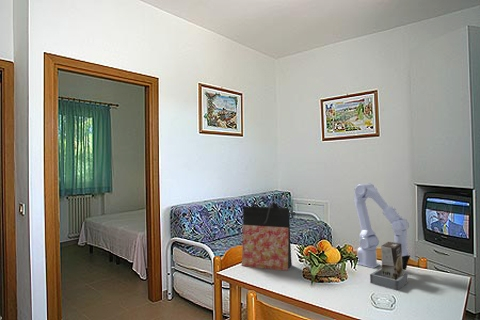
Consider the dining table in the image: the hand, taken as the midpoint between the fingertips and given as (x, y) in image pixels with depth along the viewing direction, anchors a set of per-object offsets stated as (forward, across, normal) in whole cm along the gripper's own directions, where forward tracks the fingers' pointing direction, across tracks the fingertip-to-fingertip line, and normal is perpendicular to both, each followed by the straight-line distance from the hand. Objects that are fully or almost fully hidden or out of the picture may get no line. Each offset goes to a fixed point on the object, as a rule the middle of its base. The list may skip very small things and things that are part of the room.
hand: (401, 270), depth 153 cm
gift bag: (+2, -36, +56) cm, 66 cm away
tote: (+1, -16, 0) cm, 16 cm away
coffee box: (+1, -9, +1) cm, 9 cm away
